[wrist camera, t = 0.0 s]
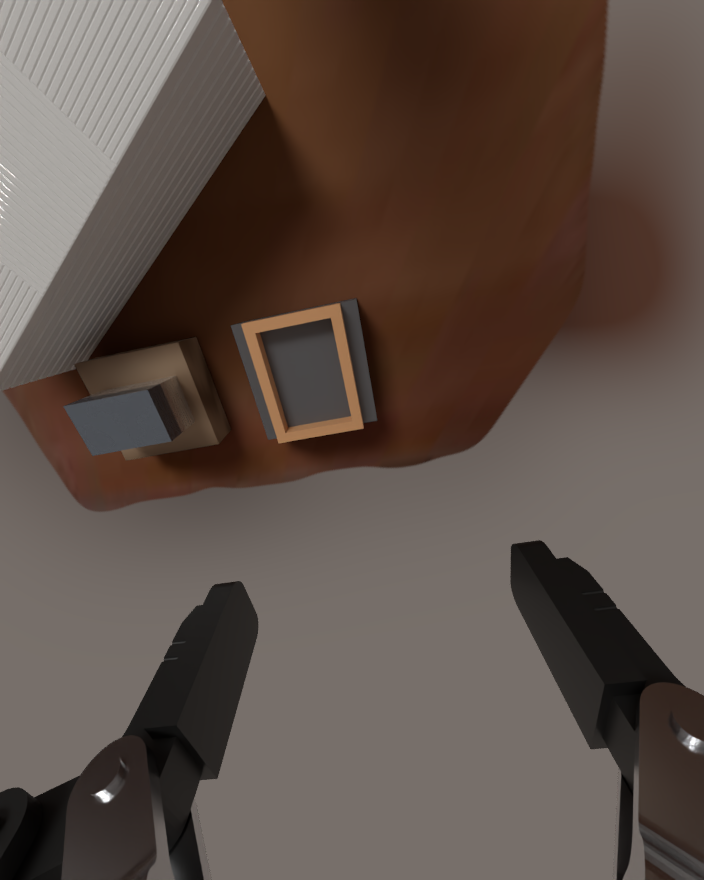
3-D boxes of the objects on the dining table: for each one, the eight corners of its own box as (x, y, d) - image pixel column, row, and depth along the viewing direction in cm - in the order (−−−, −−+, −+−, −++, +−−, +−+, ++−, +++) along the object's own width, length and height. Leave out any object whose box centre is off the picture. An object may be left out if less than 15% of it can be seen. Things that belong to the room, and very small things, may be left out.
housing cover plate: (80, 399, 31) (63, 406, 29) (159, 383, 30) (147, 389, 28) (106, 446, 33) (92, 455, 31) (181, 432, 32) (171, 441, 30)
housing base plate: (102, 390, 34) (80, 399, 31) (176, 375, 33) (159, 383, 30) (125, 434, 36) (106, 446, 33) (195, 421, 35) (181, 432, 32)
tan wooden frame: (243, 321, 34) (224, 327, 29) (356, 298, 33) (356, 299, 28) (276, 425, 39) (264, 445, 34) (375, 407, 38) (378, 426, 33)
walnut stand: (101, 356, 36) (73, 364, 32) (196, 336, 35) (177, 342, 31) (146, 445, 41) (126, 460, 37) (231, 429, 40) (218, 444, 36)
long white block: (84, 366, 37) (-13, 394, 27) (-14, 291, 34) (-164, 293, 24) (266, 97, 27) (217, -10, 18) (153, -43, 24) (16, -268, 14)
